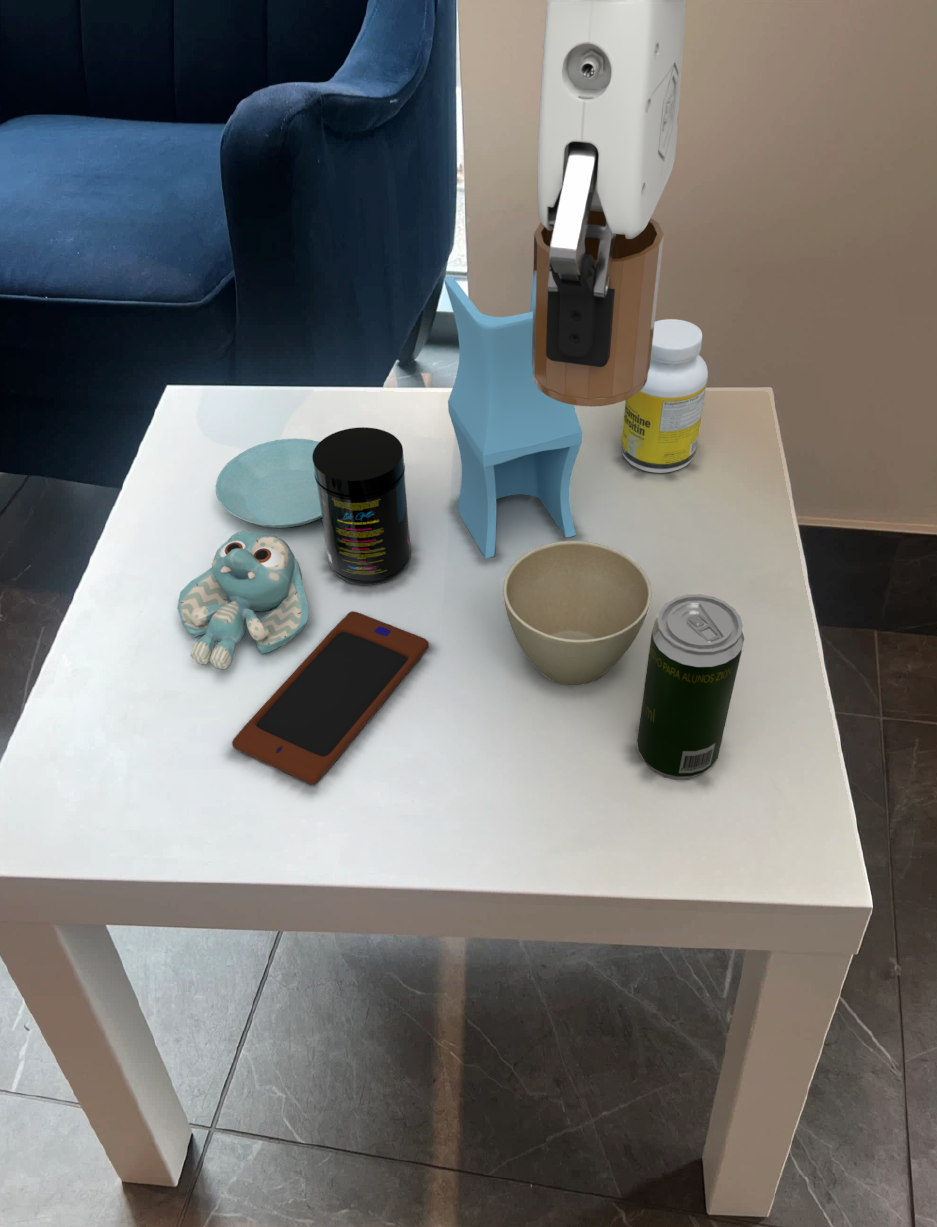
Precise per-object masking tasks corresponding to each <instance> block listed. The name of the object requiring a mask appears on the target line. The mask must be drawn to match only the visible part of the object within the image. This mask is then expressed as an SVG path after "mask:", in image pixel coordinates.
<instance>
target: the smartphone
mask: <svg viewBox="0 0 937 1227" xmlns="http://www.w3.org/2000/svg"><path fill="white" fill-rule="evenodd" d="M429 646H430V643H429V640H427V639H426V638H425V637H422V636H420V635H418V634H415V633H412V632H410V631H407V630H404V629H402V628H399V627H397V626H394V625H392V624H389V623H387V622H384V621H382V620H378V619H377V618H373V617H371V616H369V615H366V614H364V613H361V612H358V611H353V610H352V611H350V612H348V613H347V614H346V615H345V616H344V618H342V619H341V621H339V622H338V623H337V625H336V626H334V628H333V629H332V630H331V631H330V632H329V633H328V634H327V635H326V636H325V637H324V639H322V640H321V642H320V643H319V644H318V645H317V646H316V647H315V649H314V650H313V651H312V652H311V653H310V654H309V655H308V656H307V657H306V658H305V659H304V660H303V661H302V662H301V663H300V665H298V667H297V668H296V669H295V670H294V671H293V672H292V673H291V675H290V676H288V678H287V679H286V680H284V682H283V683H282V684H281V685H280V686H279V687H278V689H277V690H276V691H275V692H274V693H273V694H272V695H271V696H270V697H269V698H268V699H267V701H266V702H265V703H264V704H263V705H262V706H261V707H260V708H259V710H258V711H256V713H255V714H254V715H253V716H252V717H251V719H250V720H248V722H247V723H245V725H244V726H243V727H242V728H241V730H239V732H238V733H237V734H236V735H235V737H234V738H233V740H232V742H231V745H232V747H233V749H235V750H237V751H238V752H240V753H242V754H244V755H247V756H248V757H251V758H253V759H255V760H257V761H260V762H261V763H263V764H265V765H268V766H271V767H272V768H274V769H277V770H278V771H281V772H283V773H284V774H287V775H289V776H291V777H294V778H295V779H298V780H300V781H302V782H304V783H306V784H309V785H316V784H317V783H318V782H319V781H320V780H321V779H322V778H323V777H324V775H325V774H326V773H327V772H328V771H329V770H330V768H331V767H332V766H333V765H334V764H335V763H336V761H337V760H338V759H339V758H340V757H341V755H342V754H343V753H344V752H345V751H346V749H347V748H348V747H349V746H350V745H351V743H353V741H354V740H355V739H356V737H357V736H358V735H359V734H360V732H361V731H362V730H363V729H364V727H365V726H366V725H367V724H368V722H369V721H370V720H371V719H372V718H373V716H374V715H375V714H376V713H377V711H378V710H379V709H380V708H381V707H382V706H383V705H384V703H385V702H386V701H387V699H389V697H390V696H391V695H392V694H393V692H394V691H395V690H396V688H397V687H398V686H399V685H400V684H401V683H402V681H403V680H404V679H405V678H406V676H407V675H408V674H409V673H410V671H411V670H412V669H413V668H414V667H415V666H416V664H417V663H418V662H419V660H420V659H421V658H422V656H423V655H424V654H425V652H426V651H427V650H428V649H429Z"/></svg>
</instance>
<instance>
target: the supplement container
mask: <svg viewBox="0 0 937 1227" xmlns="http://www.w3.org/2000/svg"><path fill="white" fill-rule="evenodd" d="M312 459H313V466H314V475H315V480H316V483H317V489H318V496H319V502H320V509H321V516H322V517H321V522H322V528H323V535H324V541H325V547H326V556H327V561H328V565H329V567H330V568H331V570H332V571H333V573H334V574H335V575H336V576H338V577H339V578H340V579H341V580H343V581H344V582H345V581H346V582H347V583H351V584H353V585H359V586H375V585H380V584H383V583H387V582H389V581H392V580H393V579H394V578H396V577H398V576H399V575H401V573H402V572H403V571H404V570H405V569H406V568H407V566H408V564H409V562H410V559H411V556H412V555H411V554H412V550H411V538H410V524H409V512H408V500H407V498H408V497H407V487H406V475H405V472H406V466H405V458H404V448H403V445H402V442H401V441H400V440H399V438H398V437H397V436H395V435H394V434H393V433H390V432H388V431H386V430H383V429H379V428H376V427H364V426H362V427H361V426H360V427H351V428H345V429H342V430H339V431H336V432H333V433H331V434H329V435H327V436H325V437H324V438H323V439H322V440H320V441H319V444H318V445H317V446H316V447H315V449H314V451H313V455H312Z"/></svg>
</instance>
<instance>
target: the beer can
mask: <svg viewBox="0 0 937 1227" xmlns="http://www.w3.org/2000/svg"><path fill="white" fill-rule="evenodd" d="M742 620H743V619H742V617H741V615H740V614H739V612H738V611H737V610H736V609H735V608H734V607H733V606H732V605H730V604H729V603H728V602H726V601H725V600H722V599H720V598H717V597H715V596H712V595H706V594H701V593H700V594H698V593H697V594H695V593H694V594H685V595H681V596H676V597H674V598H673V599H670V600H669V601H667V602H665V604H664V605H663V606H662V607H661V608H660V610H659V612H658V616H657V618H656V619H655V620H654V622H653V626H652V630H651V634H650V642H649V650H648V657H647V665H646V670H645V679H644V687H643V693H642V701H641V707H640V715H639V723H638V730H637V736H636V737H637V738H636V742H637V750H638V753H639V754H640V756H641V758H642V759H643V761H644V763H645V765H646V767H648V768H649V769H650V770H651V771H653V772H654V773H655V774H657V775H659V776H661V777H663V778H666V779H670V780H675V781H686V780H687V781H688V780H691V779H694V778H697V777H698V778H699V777H700V776H702V775H703V774H704V773H706V772H707V771H709V770H710V769H711V768H712V767H713V766H714V764H715V763H716V762H717V761H718V759H719V755H720V750H721V746H722V743H723V742H722V741H723V737H724V732H725V728H726V725H727V724H726V723H727V719H728V714H729V711H730V710H729V709H730V706H731V701H732V696H733V692H734V689H735V688H734V687H735V683H736V679H737V675H738V674H737V673H738V670H739V665H740V661H741V656H742V652H743V647H744V642H745V636H744V633H743V628H744V625H743V621H742Z"/></svg>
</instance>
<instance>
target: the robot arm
mask: <svg viewBox="0 0 937 1227" xmlns="http://www.w3.org/2000/svg"><path fill="white" fill-rule="evenodd" d="M686 14H687V0H546V10H545V22H544V23H545V24H544V34H543V36H544V37H543V41H542V52H543V53H542V63H541V79H540V96H539V97H540V98H539V114H538V115H539V116H538V117H539V118H538V136H537V138H538V139H537V140H538V142H537V171H536V173H537V176H536V178H537V185H536V186H537V187H536V189H537V215H538V220H539V221H540V222H541V223H542V224H543V226H544V227H545V228H546V229H548V230H549V231H551V230H553V229H554V230H553V235H552V239H551V244H550V251H549V259H550V266H549V267H550V271H549V280H548V302H547V335H546V356H547V357H548V358H549V359H550V360H552V361H558V362H566V363H573V364H581V365H588V366H596V367H603V366H605V365H606V364H607V362H608V360H609V357H610V347H611V334H612V321H613V308H614V295H615V289H610V288H608V287H609V280H610V273H611V266H612V259H613V252H614V245H615V239H616V234H625V237H626V239H633V238H635V237H636V236H638V235H639V234H640V233H641V232H642V231H643V230H644V229H645V228H646V226H647V224H648V222H649V220H650V218H652V216H653V214H654V212H655V210H656V208H657V205H658V203H659V201H660V199H661V197H662V195H663V192H664V190H665V188H666V186H667V184H668V181H669V179H670V177H671V174H672V171H673V168H674V165H675V160H676V155H677V154H676V153H677V145H678V144H677V142H678V131H679V130H678V129H679V127H678V126H679V115H680V114H679V112H680V101H681V100H680V98H681V88H682V87H681V86H682V75H683V62H684V61H683V59H684V50H685V49H684V47H685V33H686ZM590 211H599V212H604V214H605V217H606V225H596V224H588V219H589V214H590ZM585 238H590V239H600V244H599V252H598V259H597V266H596V263H595V262H594V259H593V256H592V255H589V254H585V250H586V248H585Z"/></svg>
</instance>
